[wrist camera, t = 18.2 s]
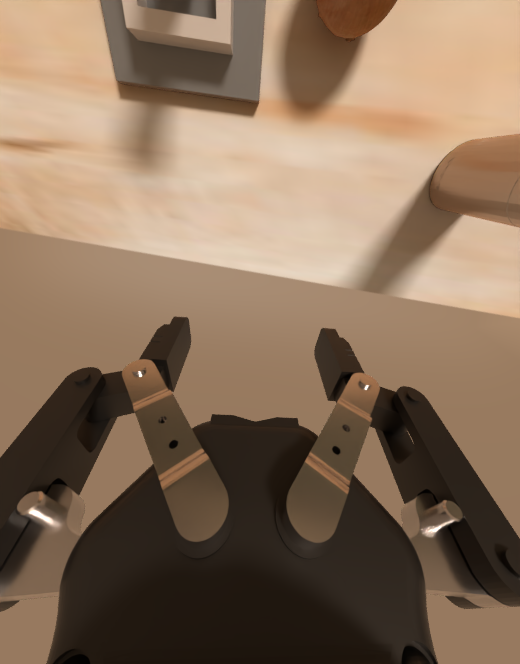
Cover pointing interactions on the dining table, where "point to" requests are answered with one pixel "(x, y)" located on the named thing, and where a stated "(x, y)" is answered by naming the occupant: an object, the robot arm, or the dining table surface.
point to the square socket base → (188, 45)
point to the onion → (353, 15)
